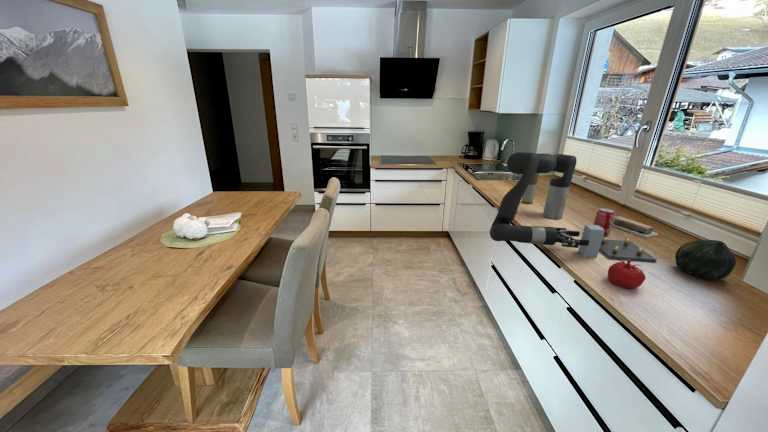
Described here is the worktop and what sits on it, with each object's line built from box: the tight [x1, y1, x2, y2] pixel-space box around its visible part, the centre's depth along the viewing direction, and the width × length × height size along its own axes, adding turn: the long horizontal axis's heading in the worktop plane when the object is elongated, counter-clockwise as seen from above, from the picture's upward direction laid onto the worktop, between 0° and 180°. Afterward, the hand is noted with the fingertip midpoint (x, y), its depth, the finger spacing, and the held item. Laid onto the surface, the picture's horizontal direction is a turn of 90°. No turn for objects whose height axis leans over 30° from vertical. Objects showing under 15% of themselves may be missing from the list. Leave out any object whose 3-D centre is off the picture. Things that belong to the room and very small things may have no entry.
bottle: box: [521, 152, 540, 205], centre depth 183 cm, size 7×7×30 cm
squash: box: [674, 239, 737, 281], centre depth 110 cm, size 14×15×15 cm
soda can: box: [593, 207, 616, 237], centre depth 144 cm, size 7×7×12 cm
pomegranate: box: [607, 259, 647, 289], centre depth 104 cm, size 10×10×9 cm
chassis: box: [599, 236, 658, 263], centre depth 128 cm, size 17×17×4 cm
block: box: [577, 224, 605, 258], centre depth 124 cm, size 5×5×12 cm
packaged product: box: [612, 215, 659, 239], centre depth 150 cm, size 18×5×10 cm
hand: (583, 238), depth 124 cm, fingers open, 8 cm apart
